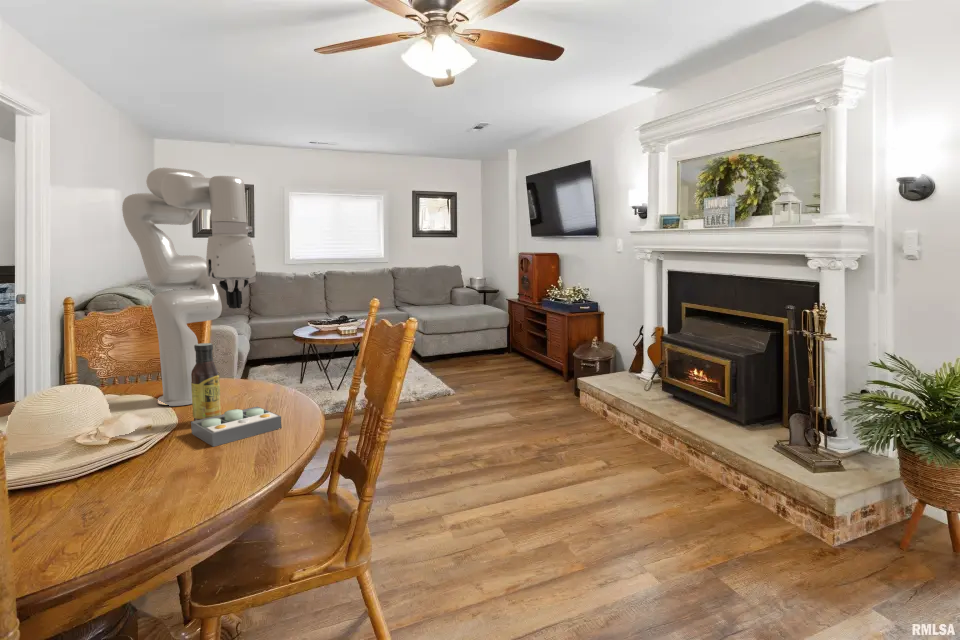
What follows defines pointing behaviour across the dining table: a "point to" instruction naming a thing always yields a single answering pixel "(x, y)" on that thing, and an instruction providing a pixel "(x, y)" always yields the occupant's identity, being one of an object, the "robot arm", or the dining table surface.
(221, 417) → the button board
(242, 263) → the robot arm
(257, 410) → the end button
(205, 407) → the sauce bottle
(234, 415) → the middle button
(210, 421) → the end button
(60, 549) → the dining table surface
